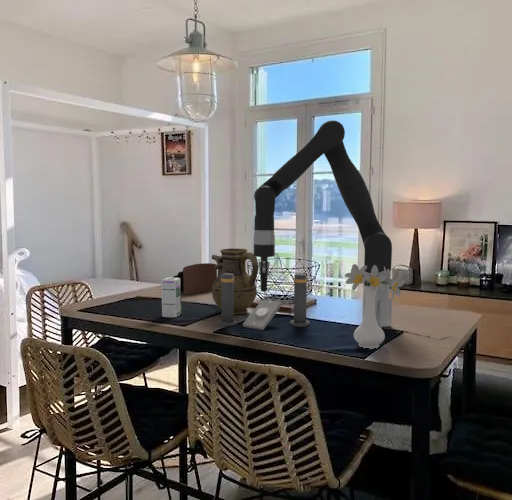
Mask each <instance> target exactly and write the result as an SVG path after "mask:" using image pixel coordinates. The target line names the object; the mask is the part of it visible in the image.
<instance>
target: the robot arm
mask: <svg viewBox="0 0 512 500" xmlns="http://www.w3.org/2000/svg"><path fill="white" fill-rule="evenodd" d="M345 134H346V130H345V127H344V125H343V124H342V123H341V122H339V121H338V120H333V119H331V120H327V121H325V122H323V123H322V124H321V125H320V126H319V129H318V130H317V132H315V134H314V136H313V137H312V138H311V139H310V140H309V142H308V143H306V144H305V146H304V147H303V148H302V149H300V150H298V152H297V153H296V154H295V155H293V156H292V157H291V158H290V159H288V160H287V161H286V162H285V163H284V164H283V165H282V166H281V167H280V168H278V170H276V171H275V172H274V173H273V175H272V176H271V177H270V178H268V179H267V180H265V182H263V183H262V184H261V185H260V186H259V187H258V188H256V189H255V191H254V193H253V198H254V202H255V216H254V227H253V228H254V230H253V231H254V232H253V254H254V256H256V258H257V257H259V258H260V260H258V268H259V269H258V274H259V276H260V277H259V281H260V292H263V293H264V292H267V291H268V279H269V276H268V275H269V274H270V266H271V264H270V263H271V262H270V261H269V260H268V258H270V257H271V258H272V257H274V256H275V253H276V236H275V235H276V234H275V205H276V199H277V197H278V196H280V194H282V193H283V191H285V190H287V189H289V188H290V187H291V186H292V185H293V184H294V183H295V182H296V181H297V180H299V178H300V177H301V176H302V175H304V174H305V173H306V171H307V170H308V169H309V168H310V167H311V166H312V165H313V164H314V163H315V162H316V161H317V160H318V159H319V158H320V157H322V156H323V155H324V157H325V159H326V161H327V162H328V164H329V166H330V168H331V171H332V175H333V177H334V180H335V183H336V185H337V186H336V187H338V191H339V193H340V195H341V197H342V200H343V202H344V205H345V206H346V208H347V211H348V212H349V214H350V215H351V217H352V218H353V220H354V221H355V224H356V226H357V228H358V231H359V234H360V237H361V239H362V243H363V248H364V261H363V262H364V264H363V266H365V265H367V269H366V270H365V272H368V273H371V270H372V268H373V266H374V265H376V266H377V268H378V273H380V272H382V271H384V267H385V269H386V272H387V270H388V269H389V270H390V273H391V271H392V261H393V260H392V258H393V257H392V256H393V254H392V253H393V243H392V240H391V238H390V237H389V236H388V235H387V233H385V231H384V230H383V227H382V226H381V223H380V222H379V220H378V218H377V216H376V215H377V214H376V213H375V209H374V204H373V200H372V197H371V194H370V191H369V189H368V186H367V185H366V182H365V180H364V178H363V176H362V175H361V172H360V171H359V169H358V168H357V167H356V166H355V164H354V163H353V161H352V160H351V159H350V156H349V154H348V152H347V149H346V146H345V144H344V140H345V139H344V138H345ZM388 279H389V278H388ZM365 281H366V283H367V284H368V281H367V280H366V279H365ZM362 285H364V283H362ZM362 289H363V290H362V319H363V318H364V312H365V291H364V288H363V287H362ZM390 291H391V286H390V285H388V284H387V287H386V290H381V289H380V288H377V291H376V296H375V316H376V321H377V323H378V325H379V327H380V328H381V329H383V327H384V328H387V327H388V328H389V327H391V326H392V311H393V310H392V305H393V304H392V302H393V301H392V300H393V299H390V298H391V296H390V293H391V292H390Z"/></svg>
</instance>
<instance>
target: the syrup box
mask: <svg viewBox="0 0 512 500" xmlns="http://www.w3.org/2000/svg"><path fill="white" fill-rule="evenodd" d="M160 280H161V281H160V283H161V316H162V318H175V317H176V318H177V317H179V316H180V314H181V315H182V295H181V286H180V278H176V277H174V276H173V277H172V276H170V277H166V278H163V279H160Z"/></svg>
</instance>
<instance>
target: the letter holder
mask: <svg viewBox="0 0 512 500" xmlns="http://www.w3.org/2000/svg"><path fill="white" fill-rule="evenodd" d="M216 264H217V263H216ZM216 264H215V263H209V262H206V263H205V262H204V263H195V264H190V265H187V266H184V267H183V268H182V270H181V271H179V272H178V273H177V274H176V275H174V276H173V277H176V278H180V286H181V296H188V295H195V294H200V293H201V294H203V293H209V292H212V286H213V283H214V282H215V280H216V279H217V276H218V269H215V268H214V266H215V265H216Z"/></svg>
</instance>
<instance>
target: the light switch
mask: <svg viewBox="0 0 512 500" xmlns="http://www.w3.org/2000/svg"><path fill="white" fill-rule="evenodd" d="M282 305H283V303H282V301H275V300H269V299H262V300H261V301H260V302H259V303H258V304H257V305H256V307H255V308H254V309H253V310H252V312H251V313H250V314H249V316H247V318H246V319H245V320H244V322H243V323H242V327H244V328H247V329H254V330H260V331H264V330H265V328H266V327H267V326H268V324H269V323H270V321H271V320H272V319H273V318H274V317H275V316H276V314H277V312H278V311H279V310H280V308H281V307H282Z"/></svg>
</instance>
